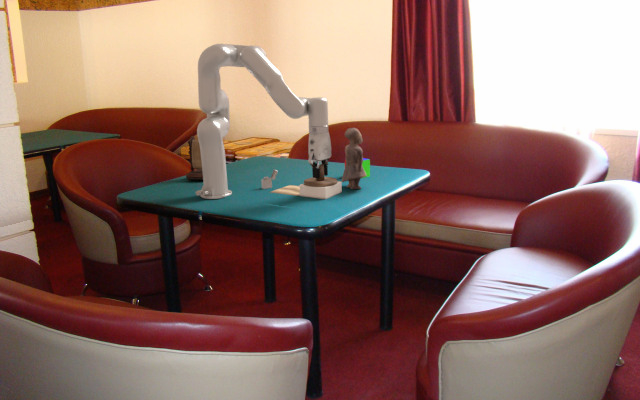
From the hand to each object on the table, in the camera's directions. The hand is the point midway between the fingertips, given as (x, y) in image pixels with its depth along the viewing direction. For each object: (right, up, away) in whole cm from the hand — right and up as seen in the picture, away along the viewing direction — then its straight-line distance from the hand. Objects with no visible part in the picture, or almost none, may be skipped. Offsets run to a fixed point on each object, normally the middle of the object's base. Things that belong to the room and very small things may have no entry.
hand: (320, 176), depth 221 cm
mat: (-11, -6, +10) cm, 16 cm away
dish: (0, -8, +2) cm, 8 cm away
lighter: (-21, -5, +17) cm, 27 cm away
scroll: (-55, 0, +41) cm, 69 cm away
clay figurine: (+14, -5, +12) cm, 19 cm away
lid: (0, -3, +1) cm, 3 cm away
